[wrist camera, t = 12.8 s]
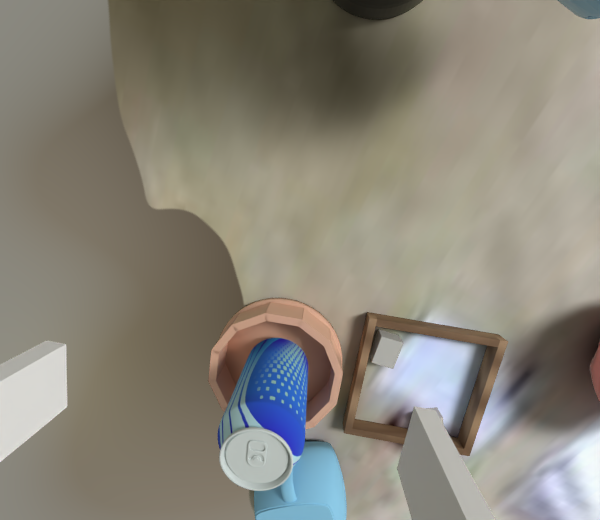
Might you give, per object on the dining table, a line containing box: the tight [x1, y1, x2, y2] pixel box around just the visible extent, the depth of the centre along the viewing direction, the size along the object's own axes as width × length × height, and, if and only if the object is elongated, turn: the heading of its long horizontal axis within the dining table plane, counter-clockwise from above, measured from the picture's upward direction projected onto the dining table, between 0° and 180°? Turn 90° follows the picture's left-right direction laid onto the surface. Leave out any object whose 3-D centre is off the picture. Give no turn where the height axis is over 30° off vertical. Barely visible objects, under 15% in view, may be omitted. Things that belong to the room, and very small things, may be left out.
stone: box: [369, 329, 403, 369], centre depth 40 cm, size 4×3×2 cm
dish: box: [208, 298, 343, 429], centre depth 40 cm, size 18×18×5 cm
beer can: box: [218, 338, 308, 491], centre depth 33 cm, size 8×8×16 cm
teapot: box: [254, 441, 346, 520], centre depth 40 cm, size 12×18×12 cm
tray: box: [343, 312, 508, 456], centre depth 40 cm, size 18×18×2 cm
